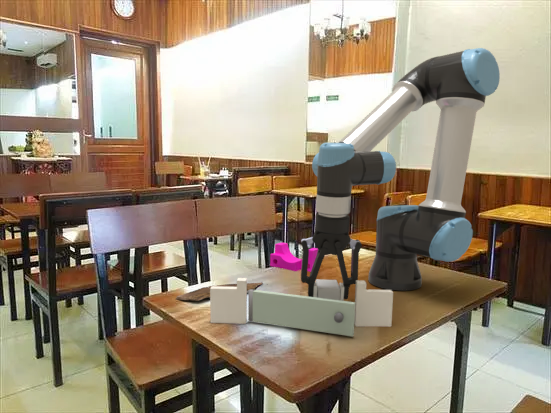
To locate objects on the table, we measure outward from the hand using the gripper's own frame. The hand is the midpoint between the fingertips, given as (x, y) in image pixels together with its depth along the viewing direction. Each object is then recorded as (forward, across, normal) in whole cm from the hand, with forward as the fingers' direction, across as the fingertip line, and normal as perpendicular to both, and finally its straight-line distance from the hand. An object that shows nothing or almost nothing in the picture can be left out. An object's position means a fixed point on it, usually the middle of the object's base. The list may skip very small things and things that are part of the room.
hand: (327, 310), depth 97 cm
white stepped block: (+2, 0, +1) cm, 2 cm away
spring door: (+2, +17, +3) cm, 18 cm away
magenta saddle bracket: (+6, +6, -42) cm, 42 cm away
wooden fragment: (+5, +24, -13) cm, 28 cm away
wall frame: (+2, +17, +3) cm, 18 cm away
